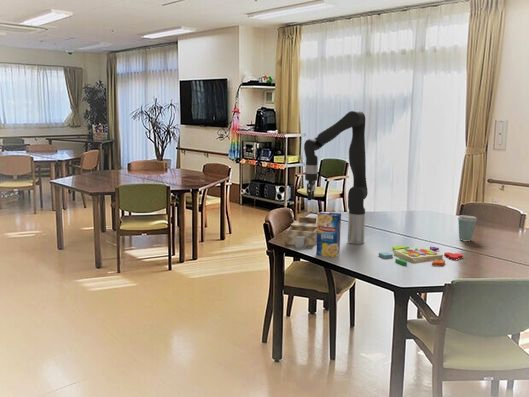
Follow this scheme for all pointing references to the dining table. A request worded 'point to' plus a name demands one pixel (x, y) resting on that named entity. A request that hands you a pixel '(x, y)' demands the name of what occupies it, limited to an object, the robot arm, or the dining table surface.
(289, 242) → the box
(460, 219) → the disposable coffee cup
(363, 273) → the dining table surface
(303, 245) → the steel block
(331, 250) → the blue food carton
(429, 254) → the pattern blocks set
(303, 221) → the lid
